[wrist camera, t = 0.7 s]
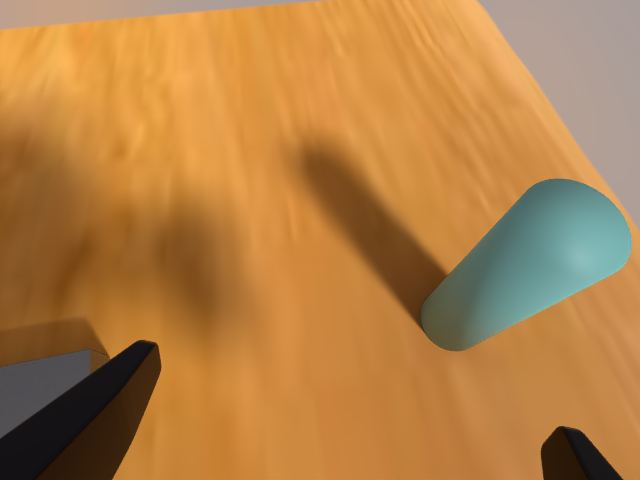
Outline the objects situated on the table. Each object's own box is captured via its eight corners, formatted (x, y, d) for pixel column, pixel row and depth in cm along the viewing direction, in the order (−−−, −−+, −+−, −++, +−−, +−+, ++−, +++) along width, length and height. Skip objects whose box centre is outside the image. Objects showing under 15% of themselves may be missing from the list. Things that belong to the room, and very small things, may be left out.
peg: (491, 343, 26) (654, 266, 14) (432, 357, 25) (548, 288, 13) (468, 284, 27) (596, 171, 16) (412, 296, 27) (500, 187, 15)
